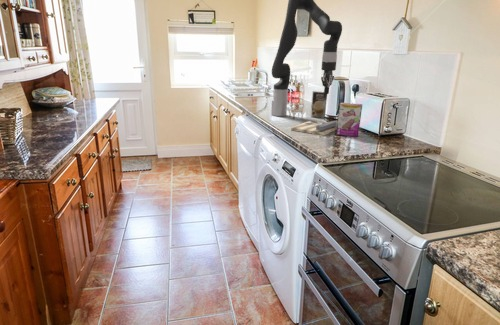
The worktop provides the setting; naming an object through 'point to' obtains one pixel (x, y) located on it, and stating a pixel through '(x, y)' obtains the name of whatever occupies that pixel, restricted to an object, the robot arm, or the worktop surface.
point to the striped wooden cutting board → (312, 128)
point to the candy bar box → (349, 119)
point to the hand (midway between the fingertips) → (326, 93)
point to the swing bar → (326, 125)
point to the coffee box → (318, 104)
